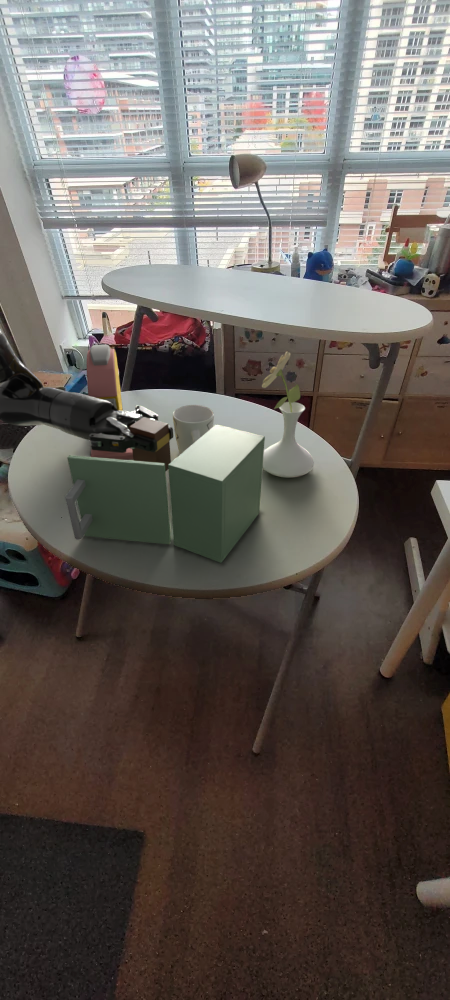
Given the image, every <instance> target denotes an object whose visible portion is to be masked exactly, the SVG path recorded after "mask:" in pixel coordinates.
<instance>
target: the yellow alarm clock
mask: <svg viewBox="0 0 450 1000" xmlns="http://www.w3.org/2000/svg"><path fill="white" fill-rule="evenodd" d="M119 373H120V372H119V366H118V357H117V352H116V349H115V348H111V346H110V345H109V344H93V345H92V346H91V347H90V348H89V349H88V350H87V353H86V383H87V396H91V397H95V398H99V399H102V400H106V401H109V402H110V403H112V404H113V406H114V407H115V408H116V409H117V410H120V411H124V408H123V401H122V391H121V383H120V382H121V381H120V374H119ZM112 444H113V445H114V446H118V444H117V443H116V442H112ZM90 457H97V458H109V459H121V460H133V452H132V449H130V448H128V449H127V451H126V452H125V453H118V452H109V451H99V450H92V449H91V448H90Z"/></svg>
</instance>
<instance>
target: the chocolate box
mask: <svg viewBox="0 0 450 1000" xmlns="http://www.w3.org/2000/svg"><path fill="white" fill-rule="evenodd" d="M169 426H170V425H169V423H167V422H164V421H161V420H158V421H157V420H153V419H149V418H146V417H143V418H141V419H140V420H138V421H137V422H136V421H135V423H134V424H132V425H131V426H129V428H130V431H132V432H134V433H135V435H137V434H140V435H144V436H147V437H151V438H154V439H156V441H157V448H158V449H157V450H156V451H155V452H150V451H145V450H142V449H138V448H135V449H132V452H133V459H132V461H144V462H156V463H165V472H166V473H167V471H169V469H168V464H170V463H171V462H172V457H171V444H170V443H171V440H170V436H169Z"/></svg>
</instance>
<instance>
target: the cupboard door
mask: <svg viewBox="0 0 450 1000" xmlns="http://www.w3.org/2000/svg"><path fill="white" fill-rule="evenodd" d="M67 462H68V467H69V472H70V476H71V480H72V487H71V488H70V489H69V491H67V493H66V495H64V500H65V503H66V508H67V512H68V516H69V520H70V524H71V528H72V532H73V536H74V539H75V540H76V541H79V540H80V541H81V540H82V539H83V538H84V536H85V537H92V538H101V539H112V540H120V541H121V540H122V541H130V542H131V541H132V542H141V543H149V544H150V543H151V544H158V545H159V544H161V545H168V546H169V545H171V542H172V537H171V525H170V512H169V498H168V486H167V471H166V472H165V463H156V462H144V461H134V460H133V459H131V460H121V459H109V458H97V457H91V456H85V455H73V454H69V455H68V456H67ZM76 503H77V506H76ZM77 508H78V509H77ZM78 512H79V514H78ZM79 517H80V519H79Z"/></svg>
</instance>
